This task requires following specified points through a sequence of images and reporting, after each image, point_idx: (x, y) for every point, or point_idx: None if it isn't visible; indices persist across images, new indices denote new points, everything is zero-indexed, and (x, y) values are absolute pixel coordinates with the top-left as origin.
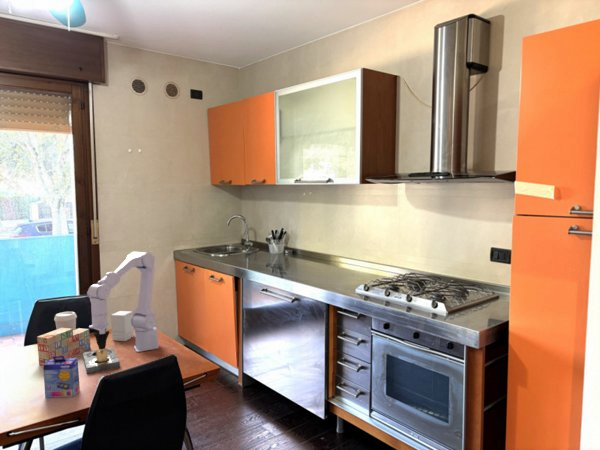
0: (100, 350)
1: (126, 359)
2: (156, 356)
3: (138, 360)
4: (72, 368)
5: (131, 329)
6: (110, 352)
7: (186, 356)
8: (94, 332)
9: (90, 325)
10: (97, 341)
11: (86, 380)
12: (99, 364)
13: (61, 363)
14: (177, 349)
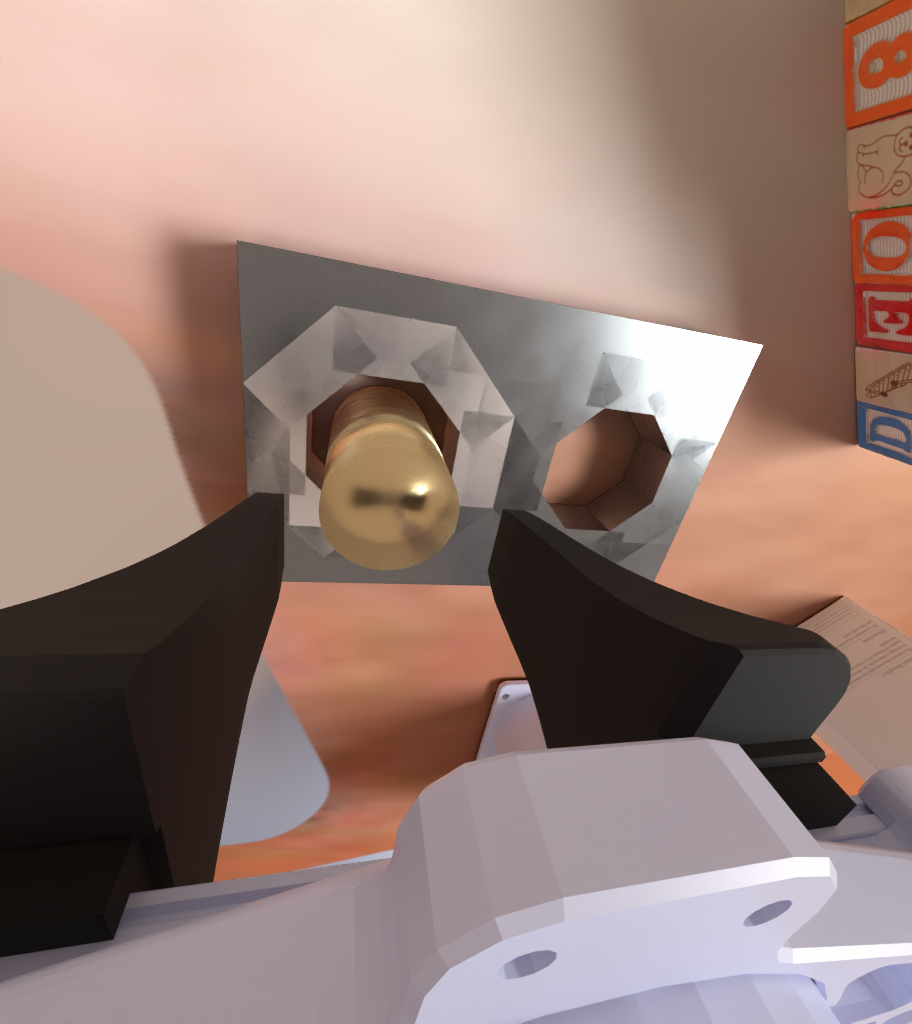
0: (381, 497)
1: (419, 611)
2: (340, 753)
3: (339, 669)
4: None
5: (818, 732)
6: None
7: (227, 860)
8: (635, 622)
9: (766, 923)
10: (154, 557)
11: (22, 170)
12: (278, 406)
13: None
14: (380, 833)
